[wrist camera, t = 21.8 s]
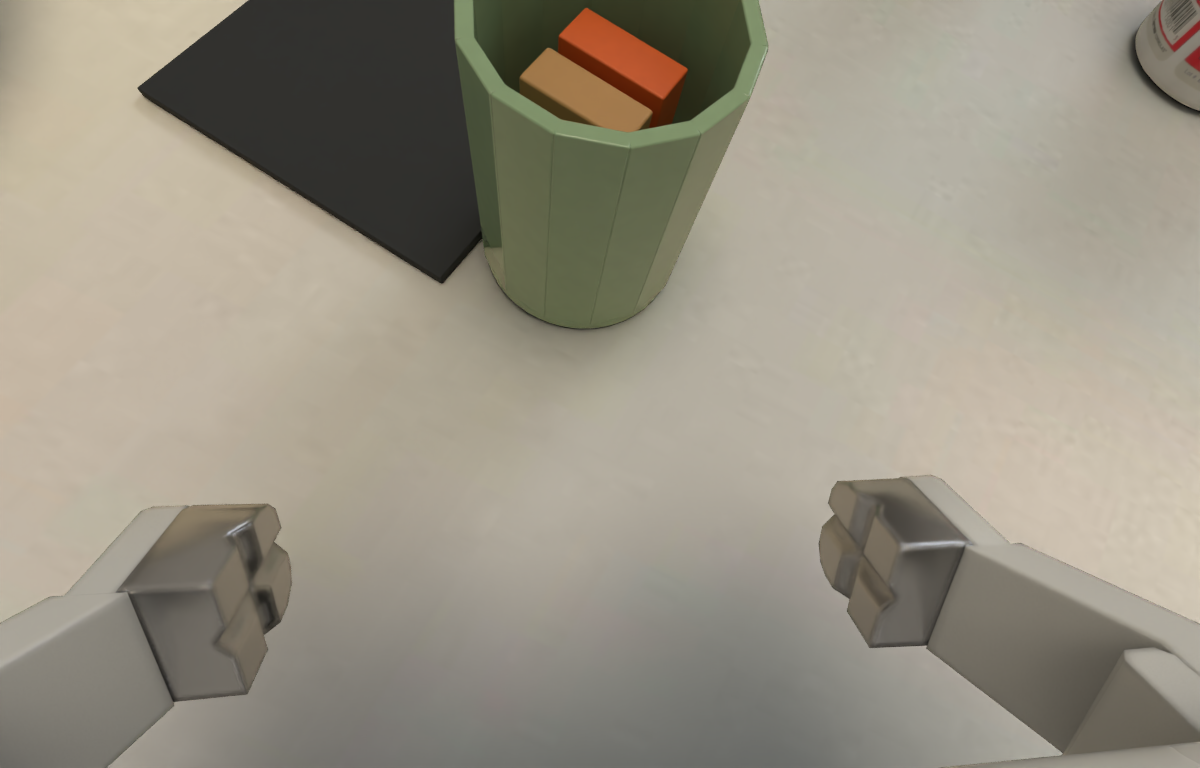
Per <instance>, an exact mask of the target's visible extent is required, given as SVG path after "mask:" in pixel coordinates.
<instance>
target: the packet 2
mask: <svg viewBox="0 0 1200 768" xmlns="http://www.w3.org/2000/svg"><path fill="white" fill-rule="evenodd" d="M558 53H559V54H561V55H562V56H564V57H566V58H567V59H569V60H571V61H572V62H574V63H575V64H577V65H579V66H580V67H582V68H584V69H585V70H587V71H588V72H590V73H592V74H593V75H595V76H597V77H598V78H600V79H602V80H603V81H605V82H606V83H608V84H610V85H611V86H613V87H615V88H616V89H618V90H619V91H621V92H623V93H624V94H626V95H628V96H629V97H631V98H632V99H634V100H636V101H637V102H639V103H641V104H642V105H644V106H646V107H647V108H649V109H650V110H652V112H653V114H652V118H651V122H650V125H649V128H654V127H659V126H664V125H669V124H672V121H673V118H674V115H675V111H676V108H677V105H678V102H679V98H680V95H681V92H682V89H683V85H684V82H685V79H686V75H687V72H688V69H687V68H686V67H684V66H683V65H681V64H679V63H678V62H676V61H674V60H673V59H671V58H670V57H668V56H666V55H665V54H663V53H661V52H660V51H658V50H656V49H655V48H653V47H651V46H650V45H648V44H646V43H645V42H643V41H641V40H640V39H638V38H636V37H635V36H633V35H631V34H630V33H628V32H626V31H625V30H623V29H621V28H620V27H618V26H616V25H615V24H613V23H611V22H610V21H608V20H606V19H605V18H603V17H601V16H600V15H598V14H597V13H595V12H593V11H592V10H590V9H588V8H585V9H584V10H583V11H582V12H581V13H580V14H579V15H578V16H577V17H576V18H575V19H574V20H573V21H572V22H571V23H570V24H569V25H568V26H567V27H566V28H565V29H564V30H563V31H562V32H561V33H560V35H559V38H558Z"/></svg>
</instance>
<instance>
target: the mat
mask: <svg viewBox="0 0 1200 768" xmlns="http://www.w3.org/2000/svg"><path fill="white" fill-rule="evenodd" d="M138 90H139V91H140V92H141V93H142V95H143V96H145V97H146V98H148V99H149V100H151V101H152V102H154V103H156V104H157V105H159V106H160V107H162V108H164V109H165V110H167V111H168V112H170V113H172V114H173V115H175V116H176V117H178V118H180V119H181V120H183V121H184V122H186V123H187V124H189V125H191V126H192V127H194V128H195V129H197V130H199V131H200V132H202V133H203V134H205V135H207V136H208V137H210V138H211V139H213V140H214V141H216V142H218V143H219V144H221V145H222V146H224V147H226V148H227V149H229V150H230V151H232V152H234V153H235V154H237V155H238V156H240V157H242V158H243V159H245V160H246V161H248V162H249V163H251V164H253V165H254V166H256V167H257V168H259V169H261V170H262V171H264V172H265V173H267V174H269V175H270V176H272V177H273V178H275V179H276V180H278V181H280V182H281V183H283V184H284V185H286V186H288V187H289V188H291V189H292V190H294V191H296V192H297V193H299V194H300V195H302V196H303V197H305V198H307V199H308V200H310V201H311V202H313V203H315V204H316V205H318V206H319V207H321V208H323V209H324V210H326V211H327V212H329V213H331V214H332V215H334V216H335V217H337V218H338V219H340V220H342V221H343V222H345V223H346V224H348V225H350V226H351V227H353V228H354V229H356V230H358V231H359V232H361V233H362V234H364V235H365V236H367V237H369V238H370V239H372V240H373V241H375V242H377V243H378V244H380V245H381V246H383V247H385V248H386V249H388V250H389V251H391V252H393V253H394V254H396V255H397V256H399V257H400V258H402V259H404V260H405V261H407V262H408V263H410V264H412V265H413V266H415V267H416V268H418V269H420V270H421V271H423V272H424V273H426V274H427V275H429V276H431V277H432V278H434V279H435V280H437V281H439V282H440V283H443V282H444V280H445V279H446V278H447V277H448V276H449V275H450V274H451V272H452V271H453V270H454V269H455V268H456V267H457V265H458V264H459V263H460V262H461V261H462V260H463V259H464V257H465V256H466V255H467V254H468V253H469V252H470V250H471V249H472V248H473V247H474V246H475V245H476V244H477V242H478V241H479V240H480V239H481V238H482V231H481V224H480V217H479V210H478V203H477V196H476V189H475V182H474V175H473V168H472V160H471V153H470V146H469V139H468V132H467V125H466V118H465V111H464V104H463V97H462V89H461V82H460V75H459V68H458V61H457V54H456V47H455V40H454V0H248V1H247V2H246V3H245V4H243V5H242V6H241V7H240V8H238V9H237V10H236V11H234V12H233V13H232V14H231V15H229V16H228V17H227V18H226V19H224V20H223V21H222V22H220V23H219V24H218V25H217V26H215V27H214V28H213V29H212V30H210V31H209V32H208V33H206V34H205V35H204V36H203V37H201V38H200V39H199V40H198V41H196V42H195V43H194V44H192V45H191V46H190V47H189V48H187V49H186V50H185V51H184V52H182V53H181V54H180V55H178V56H177V57H176V58H175V59H173V60H172V61H171V62H170V63H168V64H167V65H166V66H165V67H163V68H162V69H161V70H159V71H158V72H157V73H156V74H154V75H153V76H152V77H151V78H149V79H148V80H147V81H145V82H144V83H143V84H142V85H140V86H139V87H138Z"/></svg>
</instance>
